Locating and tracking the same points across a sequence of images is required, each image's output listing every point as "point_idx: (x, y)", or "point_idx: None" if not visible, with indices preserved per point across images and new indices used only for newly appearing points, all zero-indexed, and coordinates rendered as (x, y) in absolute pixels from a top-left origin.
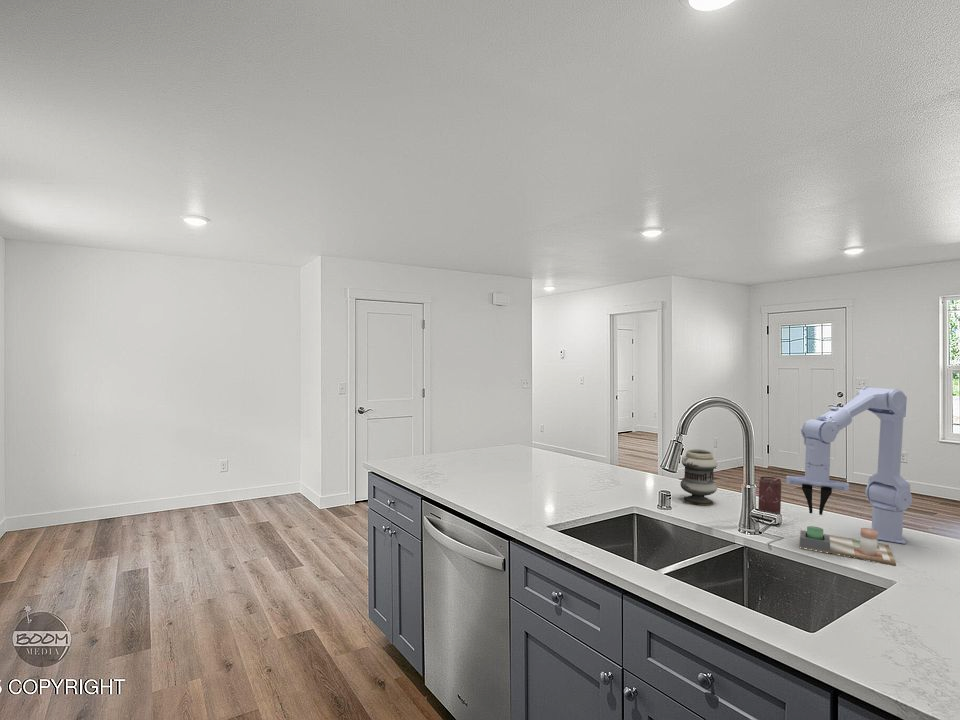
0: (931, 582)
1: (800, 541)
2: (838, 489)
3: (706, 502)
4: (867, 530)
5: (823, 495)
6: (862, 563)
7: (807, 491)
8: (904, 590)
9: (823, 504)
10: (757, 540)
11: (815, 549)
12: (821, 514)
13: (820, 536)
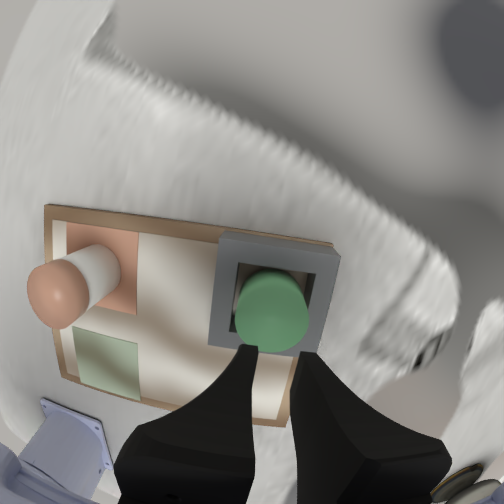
0: (13, 111)
1: (335, 252)
2: (60, 489)
3: (452, 482)
4: (54, 296)
5: (223, 430)
6: (130, 171)
7: (404, 446)
8: (91, 4)
9: (228, 380)
10: (451, 270)
11: (276, 236)
12: (244, 345)
13: (252, 281)
